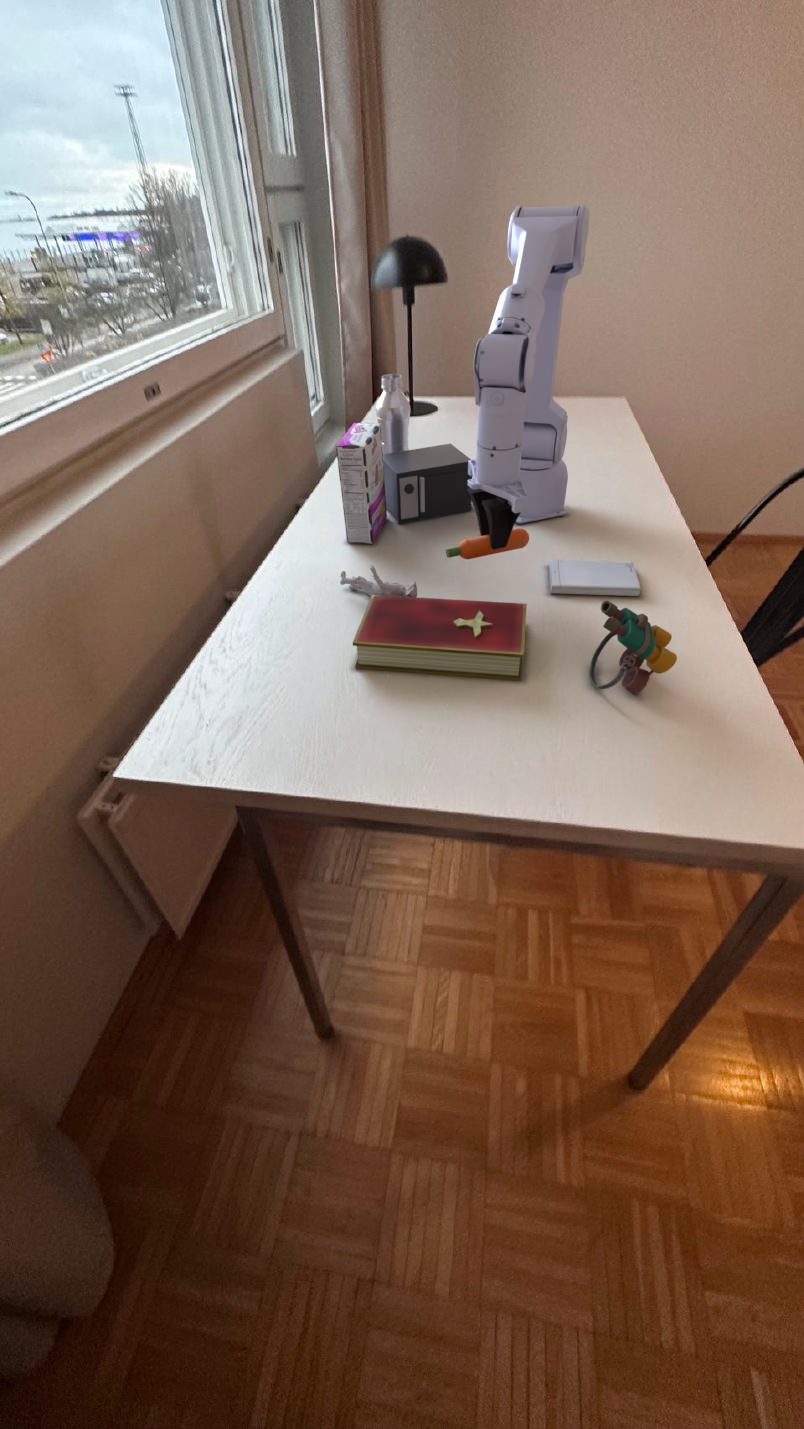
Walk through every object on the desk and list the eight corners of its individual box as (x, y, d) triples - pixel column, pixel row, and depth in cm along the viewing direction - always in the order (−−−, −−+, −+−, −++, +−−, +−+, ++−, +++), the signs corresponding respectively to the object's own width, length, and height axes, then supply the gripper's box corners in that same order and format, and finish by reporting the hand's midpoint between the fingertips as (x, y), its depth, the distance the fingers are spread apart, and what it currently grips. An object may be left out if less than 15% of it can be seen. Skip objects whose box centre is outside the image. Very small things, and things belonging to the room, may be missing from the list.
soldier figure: (364, 583, 99) (431, 575, 93) (361, 613, 98) (428, 607, 92) (334, 566, 93) (403, 556, 86) (330, 598, 92) (400, 590, 85)
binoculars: (620, 717, 75) (687, 664, 69) (560, 679, 73) (622, 621, 66) (615, 670, 82) (674, 617, 75) (559, 634, 80) (615, 577, 73)
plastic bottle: (374, 492, 124) (367, 380, 111) (388, 479, 128) (382, 371, 115) (405, 496, 122) (401, 382, 109) (417, 483, 126) (415, 372, 113)
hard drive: (633, 560, 96) (550, 558, 97) (641, 587, 90) (552, 584, 91) (631, 570, 97) (548, 567, 99) (638, 598, 91) (550, 594, 92)
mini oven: (473, 512, 115) (474, 462, 109) (400, 526, 112) (398, 475, 106) (450, 491, 123) (450, 443, 117) (381, 503, 120) (378, 455, 114)
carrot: (522, 541, 92) (524, 523, 90) (531, 549, 90) (533, 531, 88) (443, 558, 90) (443, 539, 88) (450, 566, 88) (451, 548, 86)
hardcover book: (374, 617, 90) (372, 591, 87) (524, 626, 86) (526, 600, 84) (355, 668, 81) (352, 641, 78) (521, 680, 78) (524, 652, 75)
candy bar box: (361, 516, 116) (353, 421, 105) (387, 517, 115) (382, 422, 104) (344, 543, 108) (334, 444, 97) (373, 545, 107) (365, 445, 96)
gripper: (448, 430, 84) (447, 526, 93) (495, 466, 74) (489, 570, 83) (496, 423, 86) (491, 518, 95) (549, 457, 76) (537, 560, 85)
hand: (493, 542), depth 89 cm, fingers closed on carrot, 3 cm apart
